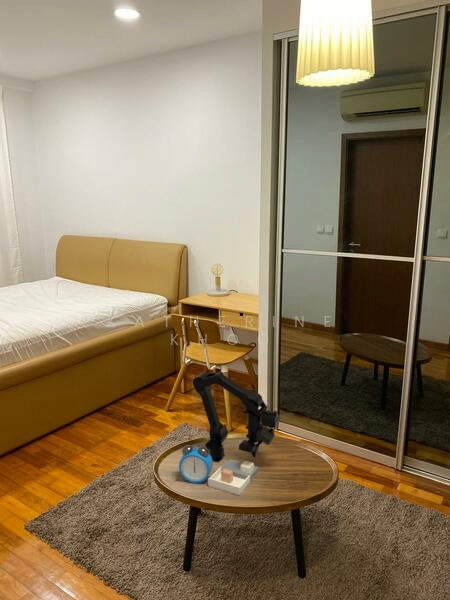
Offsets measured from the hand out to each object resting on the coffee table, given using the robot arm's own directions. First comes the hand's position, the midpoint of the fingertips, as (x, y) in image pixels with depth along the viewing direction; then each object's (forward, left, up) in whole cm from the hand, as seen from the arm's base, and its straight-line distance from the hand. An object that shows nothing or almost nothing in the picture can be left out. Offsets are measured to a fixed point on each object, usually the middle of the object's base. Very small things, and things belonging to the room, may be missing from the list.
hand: (254, 456), depth 198 cm
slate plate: (-4, -7, -5) cm, 10 cm away
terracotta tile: (-5, -14, -2) cm, 15 cm away
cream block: (0, -7, -2) cm, 8 cm away
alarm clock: (-17, -20, -5) cm, 27 cm away
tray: (-4, -16, -5) cm, 18 cm away
